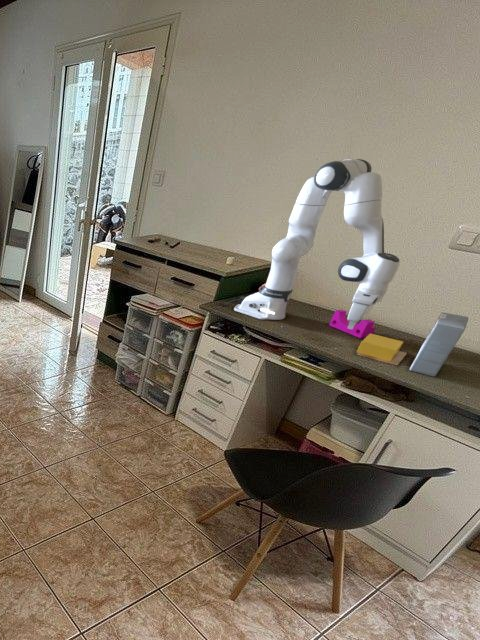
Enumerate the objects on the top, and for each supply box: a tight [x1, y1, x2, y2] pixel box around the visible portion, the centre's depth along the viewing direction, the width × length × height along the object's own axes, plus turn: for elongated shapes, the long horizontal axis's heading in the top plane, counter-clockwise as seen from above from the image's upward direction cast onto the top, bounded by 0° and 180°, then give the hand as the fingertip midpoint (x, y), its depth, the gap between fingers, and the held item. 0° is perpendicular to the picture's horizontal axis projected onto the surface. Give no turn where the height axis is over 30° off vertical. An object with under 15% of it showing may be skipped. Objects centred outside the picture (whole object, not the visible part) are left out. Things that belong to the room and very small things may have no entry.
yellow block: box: [356, 333, 404, 361], centre depth 175 cm, size 5×12×11 cm
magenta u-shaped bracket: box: [328, 309, 377, 339], centre depth 193 cm, size 15×6×8 cm, turn 12°
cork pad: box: [355, 350, 408, 367], centre depth 175 cm, size 13×16×1 cm
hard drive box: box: [409, 311, 469, 377], centre depth 160 cm, size 16×8×20 cm, turn 131°
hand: (353, 325), depth 179 cm, fingers open, 8 cm apart
